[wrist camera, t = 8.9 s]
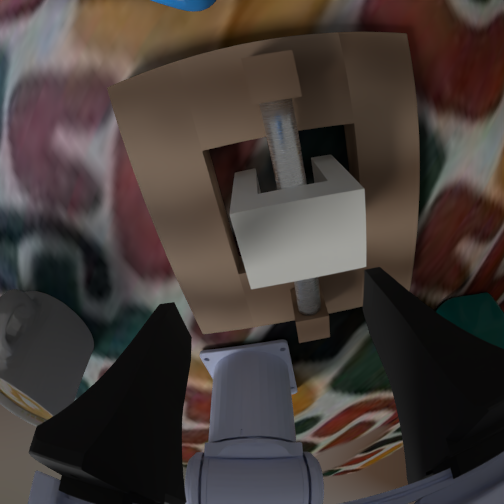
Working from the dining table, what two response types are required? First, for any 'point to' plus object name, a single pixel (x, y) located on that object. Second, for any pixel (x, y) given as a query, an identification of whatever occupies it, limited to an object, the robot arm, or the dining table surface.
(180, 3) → the alarm clock
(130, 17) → the dining table surface
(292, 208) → the grey u-slotted block
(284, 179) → the hook bar
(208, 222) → the shelf
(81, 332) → the coffee mug
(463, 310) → the teal bottle
